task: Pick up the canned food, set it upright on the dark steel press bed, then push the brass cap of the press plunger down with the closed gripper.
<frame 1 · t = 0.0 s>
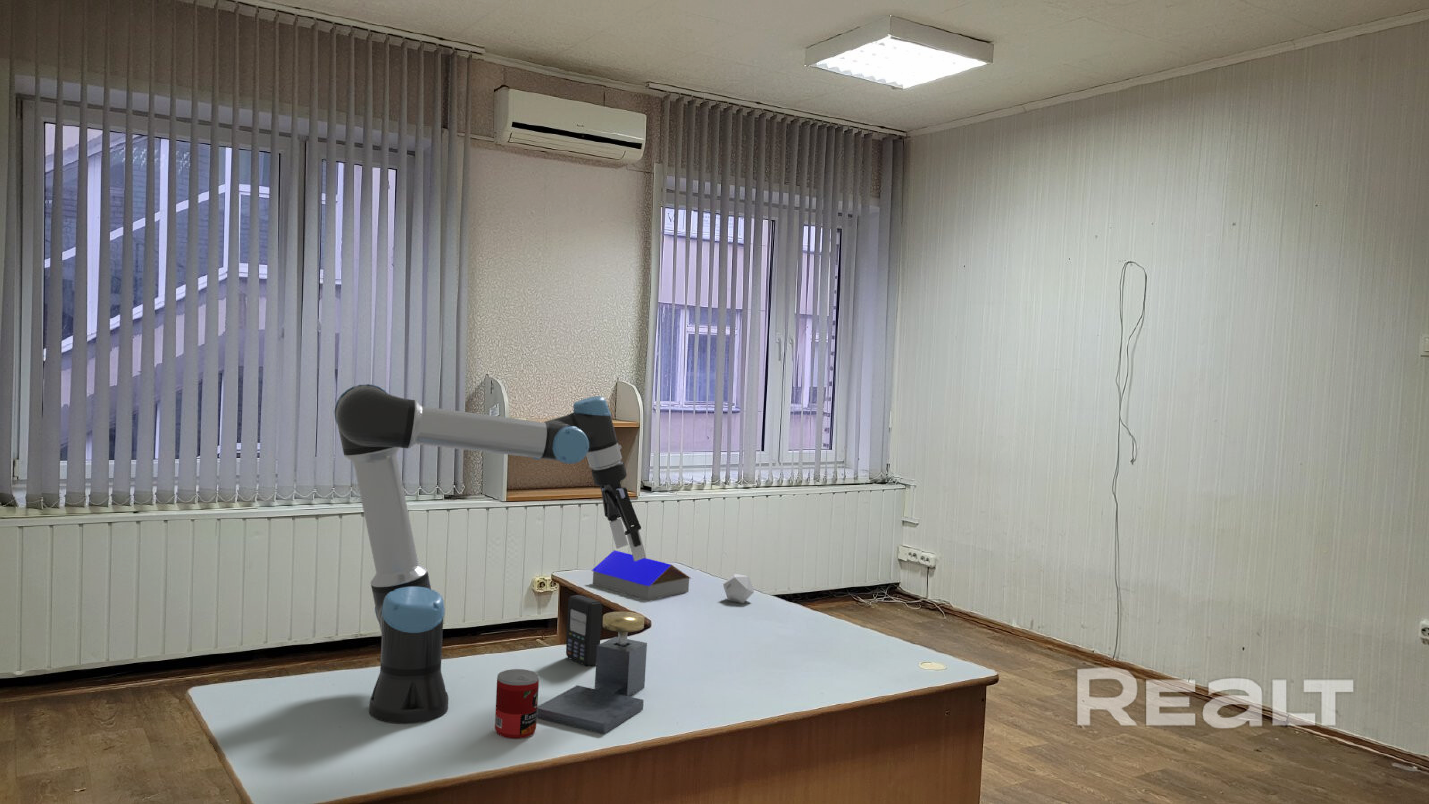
hand: (630, 552, 233), 28 cm above the table, tool tilted 20°, fingers open, 13 cm apart
house: (640, 589, 316), on the table
die: (737, 601, 307), on the table
card reader: (581, 662, 241), on the table
press: (589, 713, 207), on the table
plunger: (622, 639, 222), point 11 cm above the table, slide at 0.0 cm
canned food: (515, 732, 196), on the table
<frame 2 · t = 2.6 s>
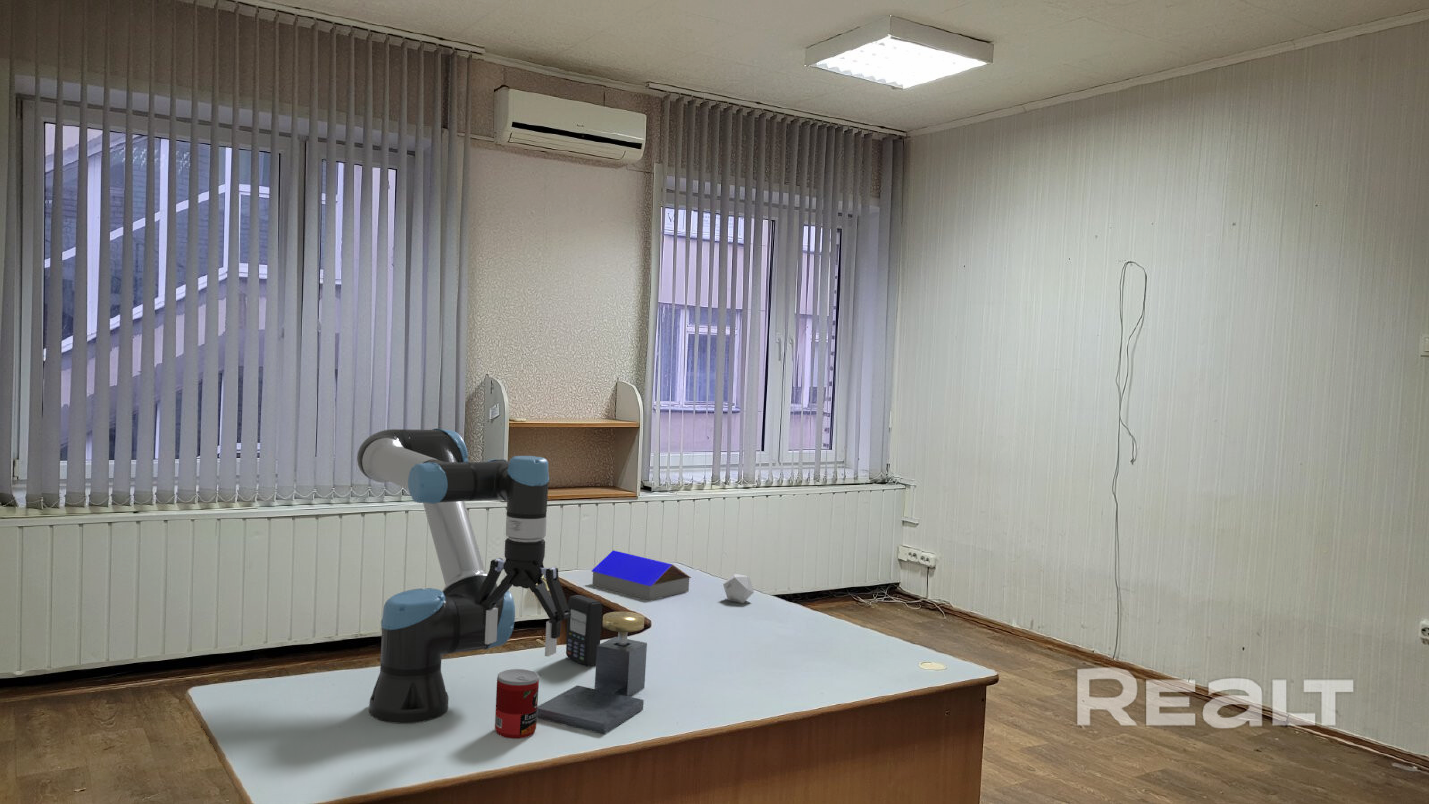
hand: (520, 648, 195), 16 cm above the table, tool pointing down, fingers open, 13 cm apart
nothing on the table moved.
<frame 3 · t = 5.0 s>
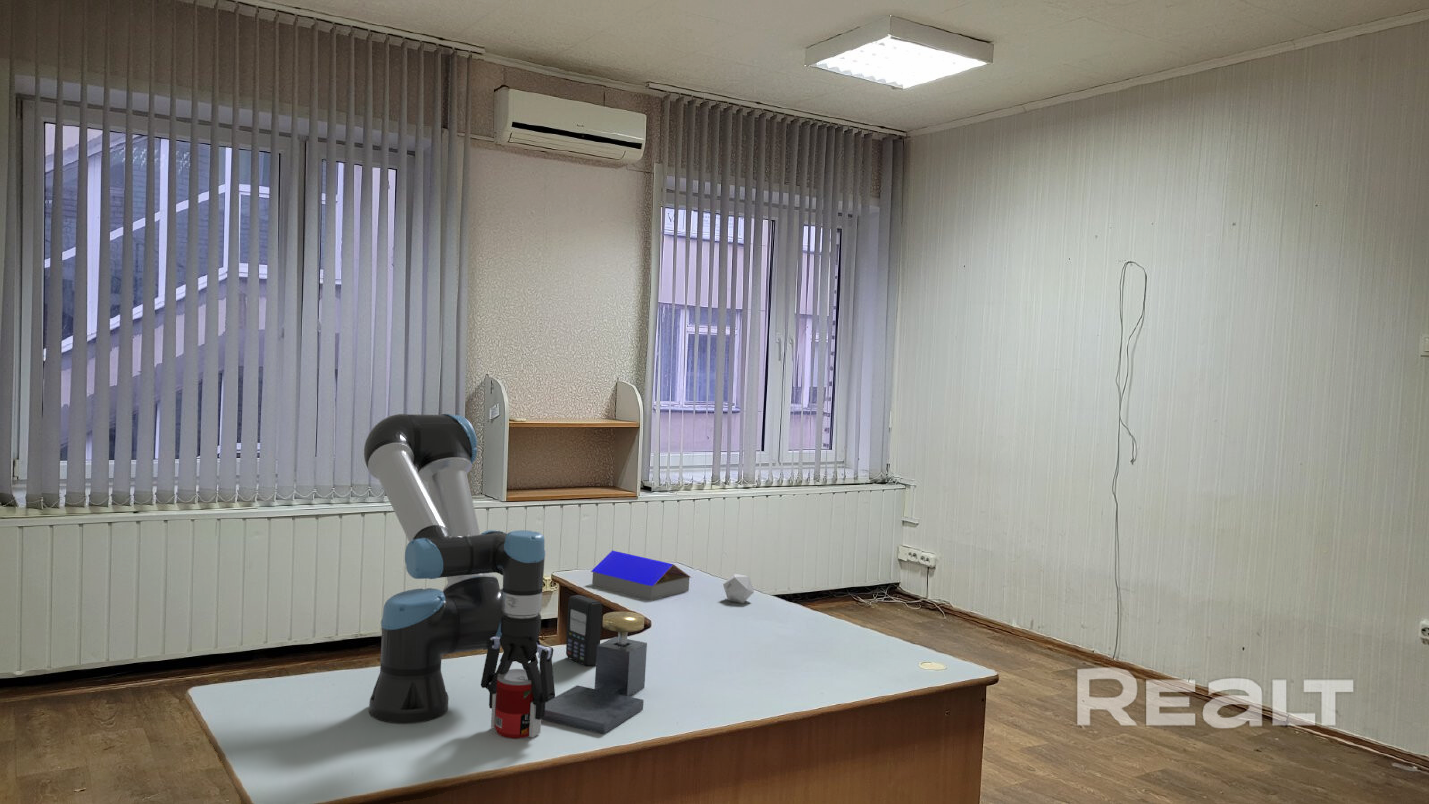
hand: (515, 730, 196), 0 cm above the table, tool pointing down, fingers closed on canned food, 8 cm apart
canned food: (515, 732, 196), on the table, touching gripper
everything else where it was.
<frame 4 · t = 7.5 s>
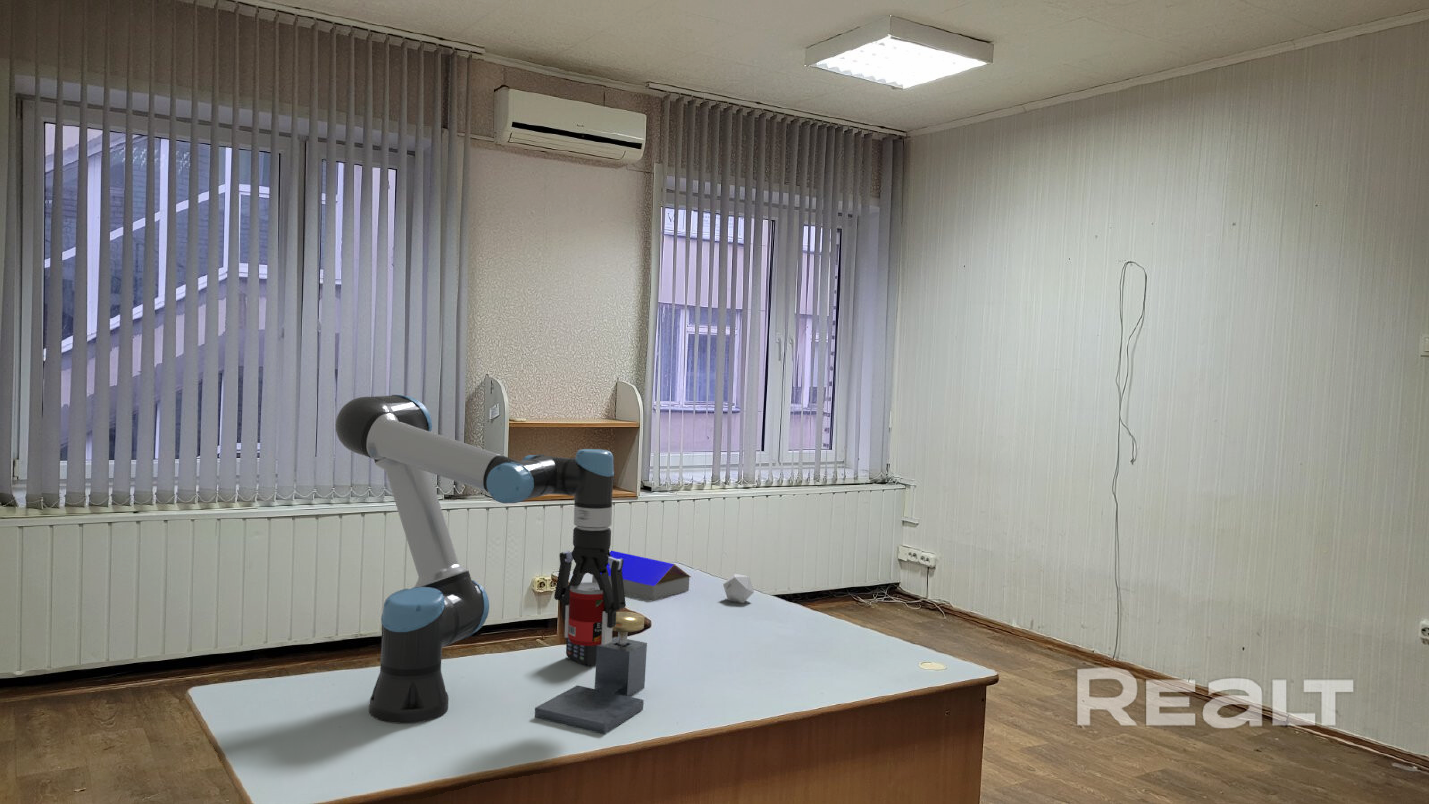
hand: (588, 639, 205), 16 cm above the table, tool pointing down, fingers closed on canned food, 8 cm apart
canned food: (587, 641, 205), point 15 cm above the table, touching gripper
everything else where it was.
when the fingers open (4 cm above the table, at t = 10.3 s): canned food drops 1 cm, resting on press.
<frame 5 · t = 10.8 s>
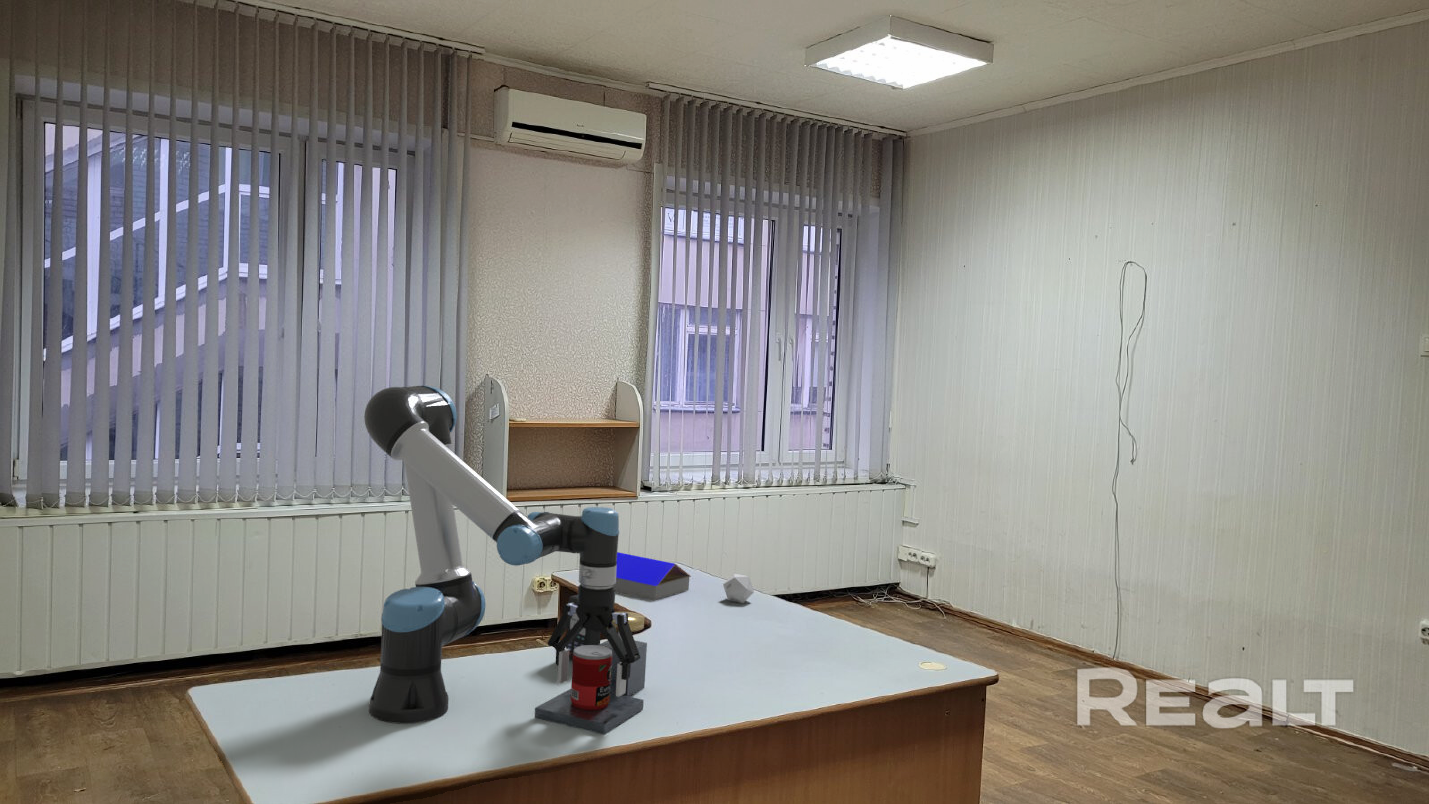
hand: (591, 688, 207), 5 cm above the table, tool pointing down, fingers open, 13 cm apart
canned food: (589, 704, 207), point 2 cm above the table, touching press
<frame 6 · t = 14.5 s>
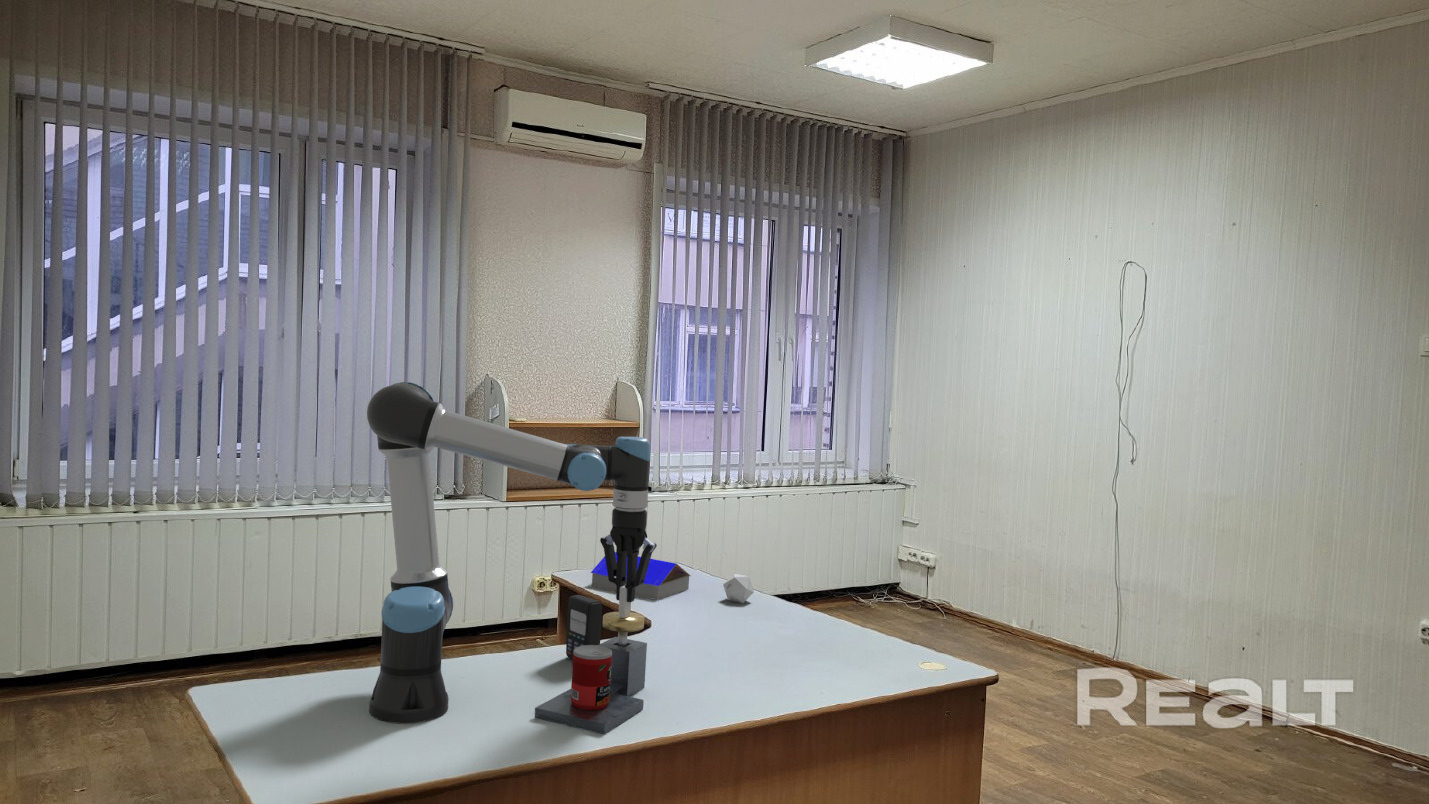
hand: (624, 615, 222), 16 cm above the table, tool pointing down, fingers closed
plunger: (622, 639, 222), point 11 cm above the table, slide at 0.0 cm, touching gripper
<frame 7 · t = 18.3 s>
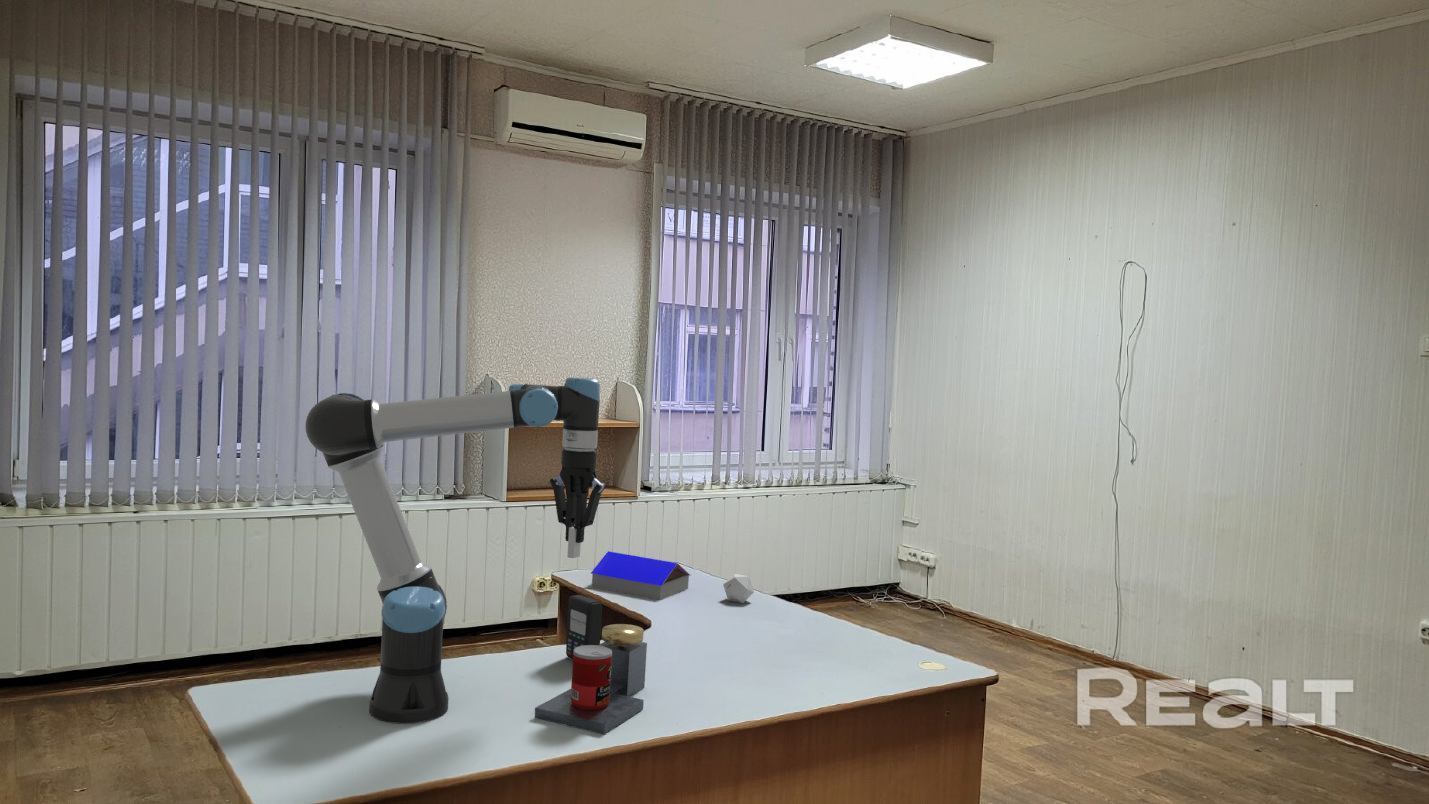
hand: (573, 556, 222), 28 cm above the table, tool pointing down, fingers closed
plunger: (621, 652, 222), point 8 cm above the table, slide at -2.8 cm
at the end: canned food inside the target area on the press (0.1 cm from its centre), point 1.8 cm above the press's base; canned food tilted 0°; plunger slide at -2.8 cm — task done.
